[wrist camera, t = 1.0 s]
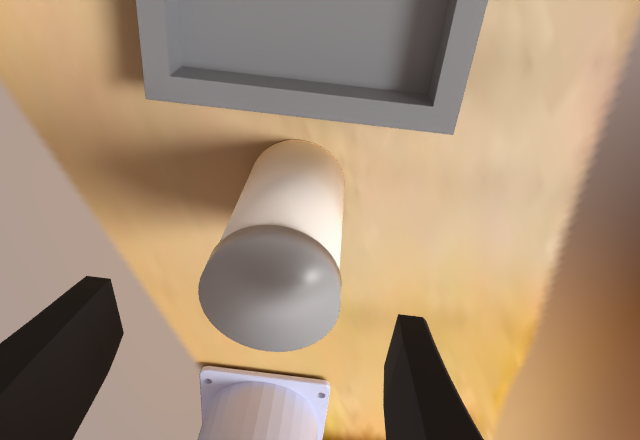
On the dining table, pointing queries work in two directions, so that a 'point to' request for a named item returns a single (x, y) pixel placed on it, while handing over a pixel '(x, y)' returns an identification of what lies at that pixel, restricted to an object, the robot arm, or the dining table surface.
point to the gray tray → (314, 57)
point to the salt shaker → (280, 252)
